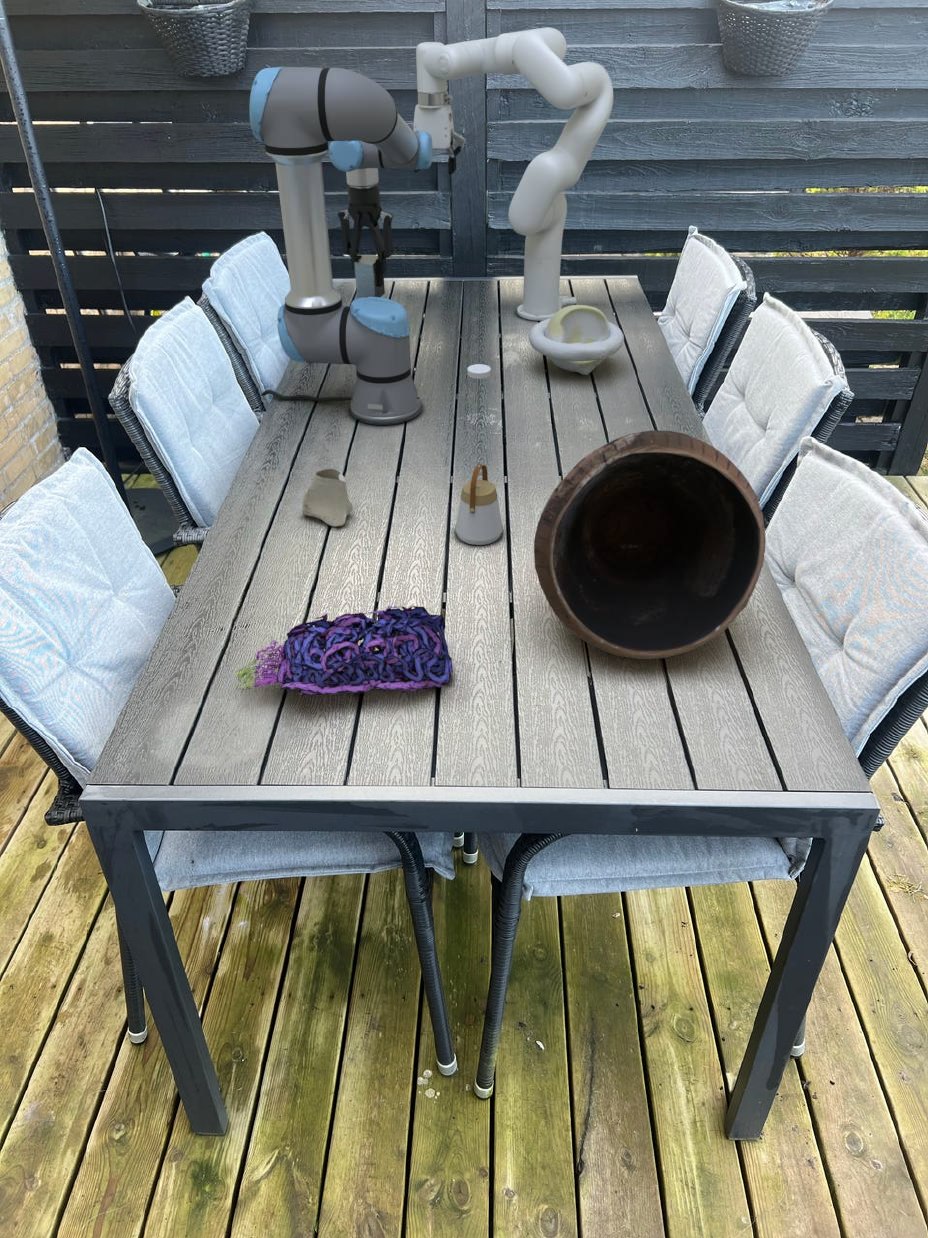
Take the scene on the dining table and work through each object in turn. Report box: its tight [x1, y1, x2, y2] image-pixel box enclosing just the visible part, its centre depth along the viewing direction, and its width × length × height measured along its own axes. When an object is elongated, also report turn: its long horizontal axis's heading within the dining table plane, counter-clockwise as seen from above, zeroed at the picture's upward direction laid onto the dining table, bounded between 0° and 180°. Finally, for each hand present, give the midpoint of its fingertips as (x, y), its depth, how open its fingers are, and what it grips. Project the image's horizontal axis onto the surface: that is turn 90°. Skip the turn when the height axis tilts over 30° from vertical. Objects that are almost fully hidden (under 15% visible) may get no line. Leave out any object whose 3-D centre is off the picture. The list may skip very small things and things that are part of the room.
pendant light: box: [455, 363, 503, 546], centre depth 153 cm, size 8×8×30 cm
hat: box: [528, 304, 625, 376], centre depth 215 cm, size 25×22×15 cm
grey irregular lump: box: [301, 468, 353, 528], centre depth 164 cm, size 9×8×10 cm
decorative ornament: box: [235, 605, 454, 697], centre depth 129 cm, size 13×11×30 cm
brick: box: [354, 254, 386, 299], centre depth 233 cm, size 7×5×9 cm
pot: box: [533, 429, 767, 660], centre depth 139 cm, size 32×32×30 cm
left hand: (370, 283), depth 234 cm, fingers closed on brick, 5 cm apart
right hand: (434, 172), depth 247 cm, fingers open, 9 cm apart
